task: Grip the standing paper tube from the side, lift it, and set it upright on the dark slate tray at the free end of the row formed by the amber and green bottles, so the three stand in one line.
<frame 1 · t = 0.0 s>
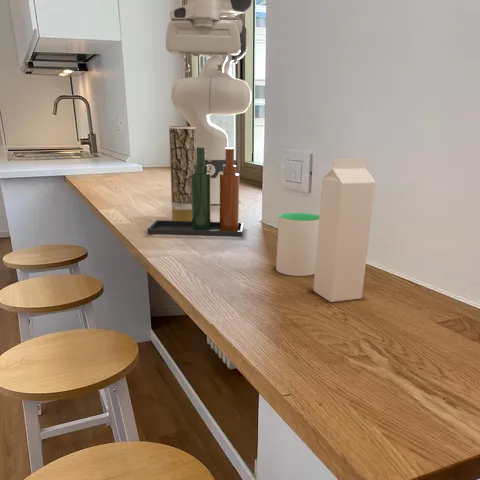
hand: (203, 72, 136), 39 cm above the worktop, tool pointing down, fingers open, 8 cm apart
green bottle: (201, 230, 126), point 1 cm above the worktop, touching tray
paper tube: (184, 223, 137), on the worktop
amber bottle: (228, 231, 126), point 1 cm above the worktop, touching tray
tray: (197, 232, 126), on the worktop
milk: (336, 296, 84), on the worktop
mug: (305, 270, 98), on the worktop
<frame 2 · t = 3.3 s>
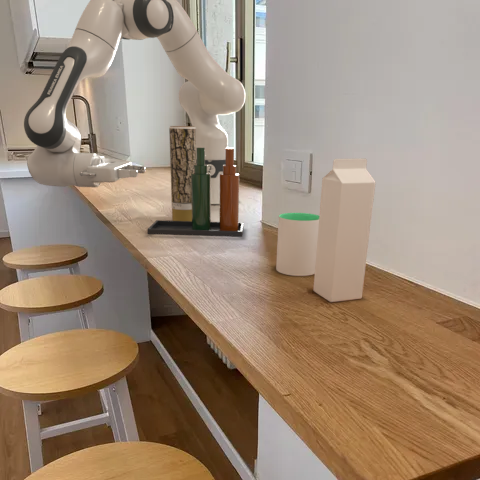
hand: (141, 171, 133), 13 cm above the worktop, tool horizontal, fingers open, 8 cm apart
nothing on the worktop moved.
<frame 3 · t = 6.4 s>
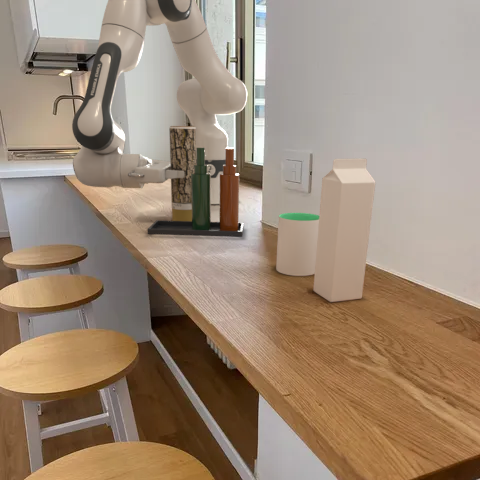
hand: (186, 172, 132), 13 cm above the worktop, tool horizontal, fingers closed on paper tube, 7 cm apart
paper tube: (184, 223, 137), on the worktop, touching gripper
everything else where it was.
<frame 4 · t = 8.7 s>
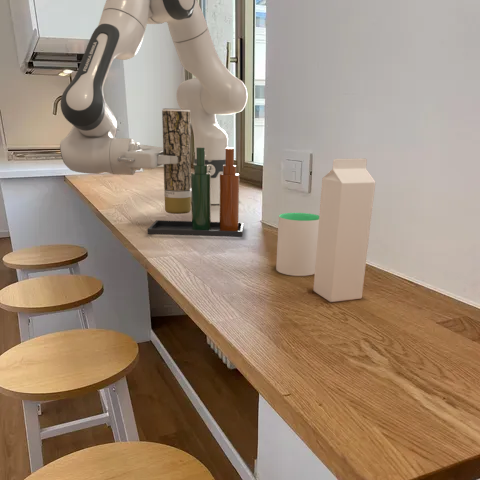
hand: (180, 158, 125), 18 cm above the worktop, tool horizontal, fingers closed on paper tube, 7 cm apart
paper tube: (177, 213, 130), point 4 cm above the worktop, touching gripper
everything else where it was.
when the fingers open (14 cm above the worktop, at t = 11.3 s): paper tube stays where it is, resting on tray.
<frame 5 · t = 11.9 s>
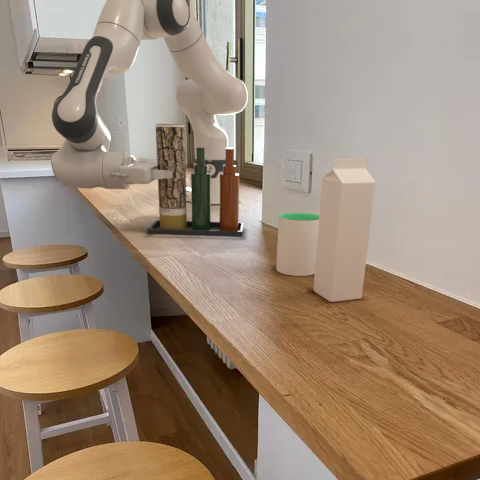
hand: (175, 172, 121), 15 cm above the worktop, tool horizontal, fingers open, 8 cm apart
paper tube: (173, 230, 126), resting on tray
everything else where it was.
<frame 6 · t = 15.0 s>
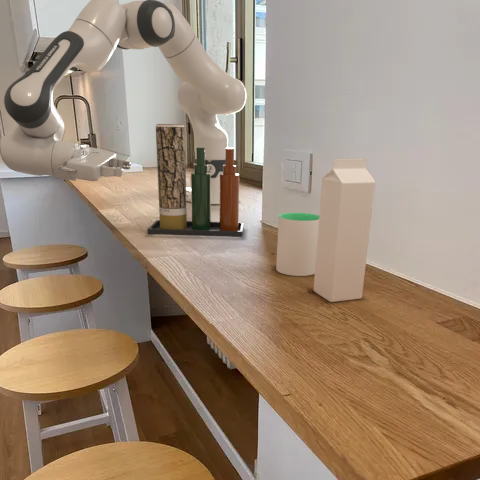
hand: (126, 169, 122), 15 cm above the worktop, tool horizontal, fingers open, 8 cm apart
nothing on the worktop moved.
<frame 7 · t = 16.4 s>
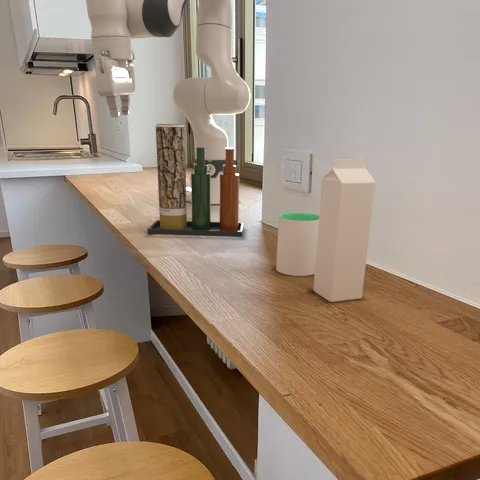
hand: (120, 116, 122), 27 cm above the worktop, tool pointing down, fingers open, 8 cm apart
nothing on the worktop moved.
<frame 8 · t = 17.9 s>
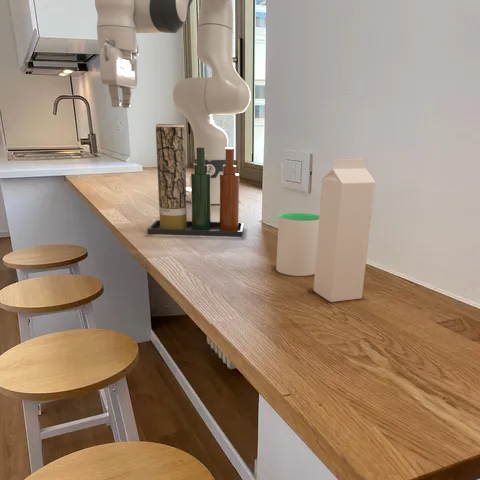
hand: (121, 107, 121), 29 cm above the worktop, tool pointing down, fingers open, 8 cm apart
nothing on the worktop moved.
at the end: paper tube 0.1 cm from the target spot in the tray, point 0.4 cm above the tray's base; paper tube tilted 0°; green bottle moved 0.0 cm from its start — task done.
